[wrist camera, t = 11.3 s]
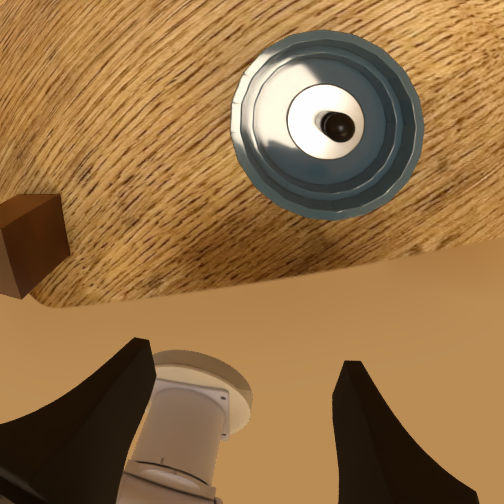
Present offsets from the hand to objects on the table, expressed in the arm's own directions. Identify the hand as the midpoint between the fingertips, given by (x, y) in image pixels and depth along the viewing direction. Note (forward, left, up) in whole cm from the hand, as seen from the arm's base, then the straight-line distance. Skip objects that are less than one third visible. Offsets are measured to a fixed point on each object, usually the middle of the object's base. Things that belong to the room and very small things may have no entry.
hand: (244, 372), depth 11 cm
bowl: (+8, -3, -10) cm, 14 cm away
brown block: (0, +18, -10) cm, 20 cm away
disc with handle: (+8, -3, -10) cm, 13 cm away
